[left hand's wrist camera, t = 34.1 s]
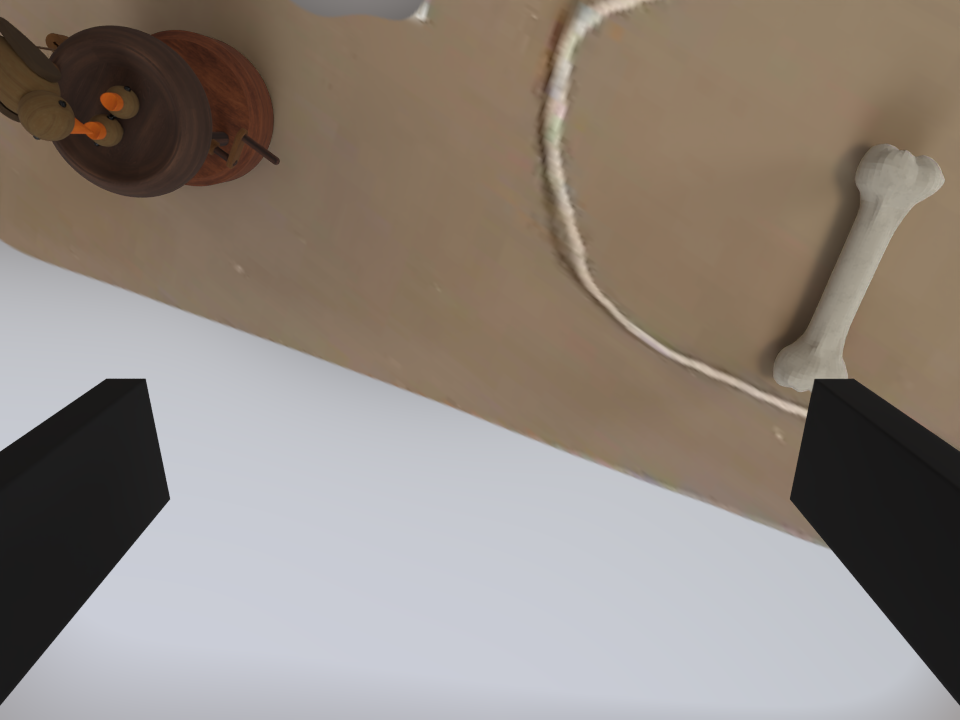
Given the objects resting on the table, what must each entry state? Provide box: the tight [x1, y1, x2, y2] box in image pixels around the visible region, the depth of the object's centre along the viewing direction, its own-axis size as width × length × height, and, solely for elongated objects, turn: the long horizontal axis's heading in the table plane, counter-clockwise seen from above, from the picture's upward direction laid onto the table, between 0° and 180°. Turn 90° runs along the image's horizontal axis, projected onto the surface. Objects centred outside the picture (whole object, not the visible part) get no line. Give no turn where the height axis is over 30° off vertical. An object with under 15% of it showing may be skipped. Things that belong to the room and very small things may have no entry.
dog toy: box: [773, 144, 945, 392], centre depth 50 cm, size 20×6×5 cm, turn 167°
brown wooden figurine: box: [0, 17, 280, 197], centre depth 39 cm, size 15×11×20 cm
